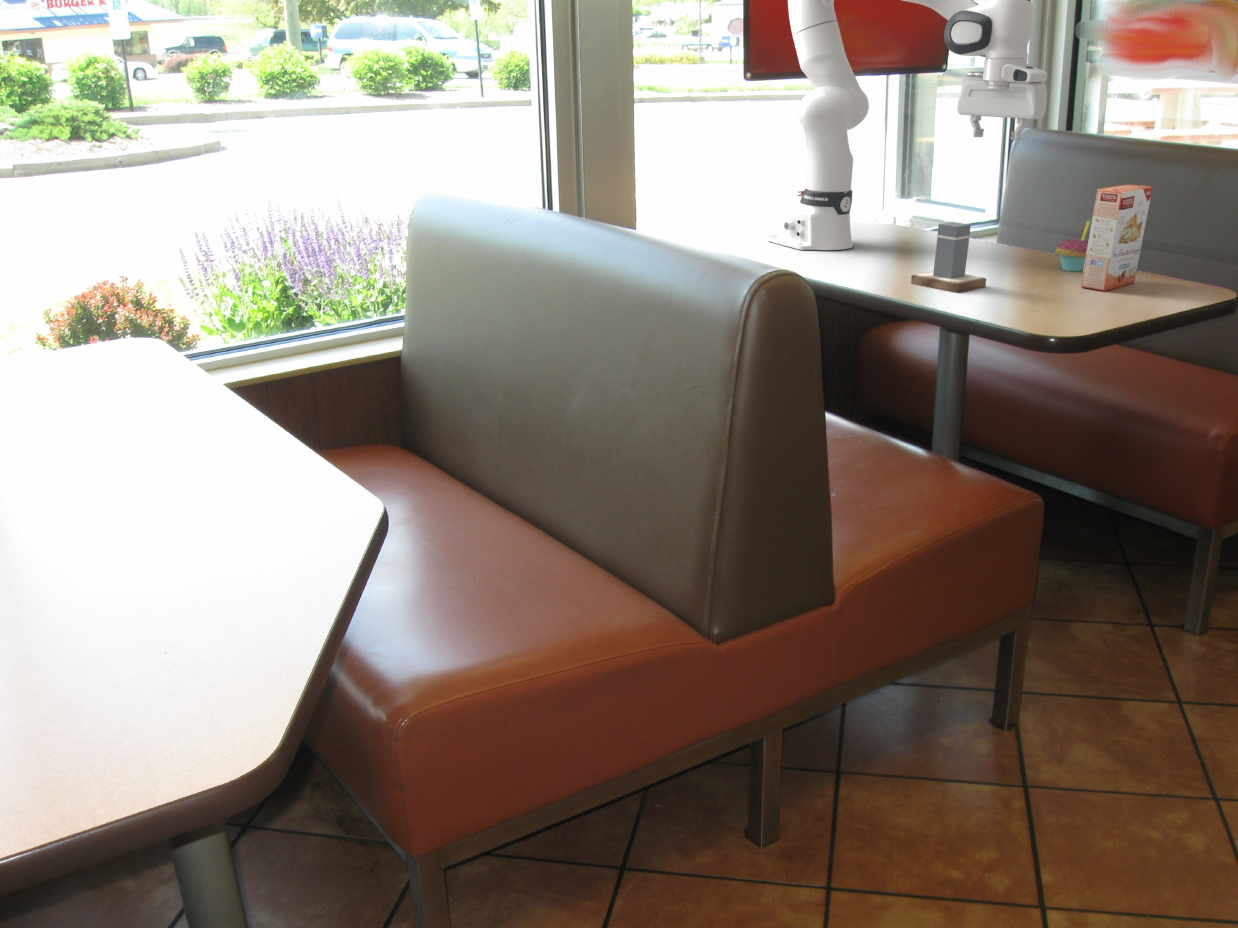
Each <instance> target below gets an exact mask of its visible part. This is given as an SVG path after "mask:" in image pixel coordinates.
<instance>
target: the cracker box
mask: <svg viewBox="0 0 1238 928" xmlns="http://www.w3.org/2000/svg"><path fill="white" fill-rule="evenodd" d="M1152 192H1153V187H1152V186H1148V185H1139V184H1124V185H1123V184H1122V185H1117V186H1110V187H1102V188H1097V190H1096V195H1095V196H1096V197H1095V201H1094V207H1093V213H1092V217H1091V223H1090V230H1089V238H1088V240H1087V241H1088V247H1087V253H1086V258H1085V264H1084V270H1083V271H1082V277H1081V282H1080V287H1081V288H1084V289H1090V290H1095V291H1101V292H1106V291H1110V290H1113V289H1117V288H1119V287H1123V286H1128V285H1131V284H1134V283H1135V282H1136V275H1137V271H1138V265H1139V260H1140V255H1141V251H1142V250H1141V249H1142V244H1143V240H1144V234H1145V228H1146V224H1147V218H1148V214H1149V209H1150V202H1151V198H1152Z"/></svg>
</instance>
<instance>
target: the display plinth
mask: <svg viewBox="0 0 1238 928" xmlns="http://www.w3.org/2000/svg"><path fill="white" fill-rule="evenodd" d="M933 273H934V270H930V271H926V272H921V273H915V274H912V275H911V280H910V284H913V285H917V286H922V287H927V288H933V289H936V290H941V291H946V292H950V293H951V292H952V293H955V294H959V293H963V292H968V291H973V290H976V289H981V288H985V287H986V285H987V284H986V283H987V277H986V278H985V277H983V276H978V275H973V274H967V273H965V276H962V277H958V278H953V279H948V278H943V277H938V276H933Z"/></svg>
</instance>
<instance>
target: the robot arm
mask: <svg viewBox="0 0 1238 928" xmlns="http://www.w3.org/2000/svg"><path fill="white" fill-rule="evenodd" d="M834 1H835V0H787V7H788V8H787V9H788V18H789V19H788V20H789V23H790V24H789V25H790V30H791V34H792V39H793V43H794V44H793V45H794V48H795V50H796V54H797V55H796V56H797V59H798V63H799V67H800V69H801V71H802V73H803V74H804V75H805V76H806V77H807V79H808V81H809V84H810V85H811V87H812V89H813V90H811V91H810V92H808V93H807V94H805V95H804V96H803V97H802V99H801V100H800V103H799V105H798V112H797V114H798V119H799V122H800V123H801V125H802V127H803V130H804V136H805V142H806V143H805V144H806V149H807V176H806V187H805V189H804V190H801V191H800V190H799V191H797V193H799V194H797V197H801V198H800V201H799V204H797V205H796V206H795V207H793V208H792V209H791V210H790V211H788V212H787V213H785V214H784V215H783V216H782V217H781V218H780V220H779V223H778V227H777V234H773V235H771V236H768V239H767V241H768V242H770V243H774V244H777V245H781V246H784V247H789V248H793V249H797V250H802V251H806V250H809V251H812V250H813V251H814V250H815V251H838V250H839V251H840V250H847V249H851V248H853V247H854V244H853V240H852V239H853V238H852V232H851V214H850V213H851V208H852V203H853V190H852V181H853V179H852V178H853V169H854V157H853V154H852V153H851V149H850V144H849V137H848V136H849V135H848V131H849V130H852V129H854V128H856V127H857V126H858V125H860V124H861V123H862V122H863V121H864V119H866V116H867V115H868V112H869V108H870V107H869V105H870V103H869V99H868V97H867V95H866V93H865V92H864V91H863V90H862V88H861V87H860V84H859V82H858V80H857V78H856V75H855V73H854V71H853V69H852V66H851V65H850V62H849V59H848V57H847V54H846V51H845V46H844V43H843V40H842V35H841V31H840V26H839V22H838V19H837V15H836V11H835V5H834V4H835V2H834ZM901 1H903V2H908V3H913V4H919V5H921V6H924V7H927V8H929V9H932V11H933V10H934V11H935V12H936V13H938V14H939V15H940V16H941V17H943V18H944V19H946V20H947V22H946V25H945V27H944V31H943V32H944V33H943V40H944V42H945V43H944V44H945V46H946V47H947V49H948V50H949V51H951V52H952V53H954V54H956V55H959V56H964V57H967V56H968V57H982V58H984V66H983V71H968V72H967V73H966V74H965V75H964V76H963V77H962V81H961V88H960V92H959V97H958V100H957V107H956V110H957V112H958V114H959V115H961V116H963V115H964V116H970V119H969V120H970V124H971V126H972V129H973V134H972V136H973V138H983V137H984V132H985V129H984V128H982V127H981V124H980V122H979V121H982V117H991V118H992V117H993V118H1008V119H1016V124H1018V125H1017V126H1016V128H1015V130H1014V131H1010V139H1009V140H1011V141H1020V140H1021V136H1022V132H1024V129H1025V128H1026V127H1027V125H1028V122H1029V120H1041V119H1042V118H1043V117H1044V115H1045V114H1046V110H1047V103H1048V99H1047V98H1048V90H1047V89H1048V88H1047V86H1046V85H1045V82H1046V81H1047V79H1048V73H1047V71H1045V70H1043V69H1041V68H1038V67H1035V66H1034V65H1031V64H1030V63H1028V59H1029V52H1028V45H1029V43H1030V40H1031V36H1032V30H1033V29H1032V28H1033V13H1034V10H1033V8H1034V6H1033V1H1032V0H984V1H983V2H981V3H977V2H976V1H975V0H901Z"/></svg>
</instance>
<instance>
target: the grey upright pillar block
mask: <svg viewBox="0 0 1238 928" xmlns="http://www.w3.org/2000/svg"><path fill="white" fill-rule="evenodd" d="M971 226H972V225H971V224H969V223H963V222H955V221H951V222H945V223H939V224H938V228H937V234H936V235H937V236H936V244H935V245H936V246H935V247H936V248H935V255H934V265H933V271H934V273H933V276H938V277H943V278H948V279H953V278H958V277H962V276H965V274H966V268H967V262H968V260H967V259H968V251H969V244H970V243H969V242H970V237H971V235H970V234H971V233H970V232H971Z"/></svg>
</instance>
